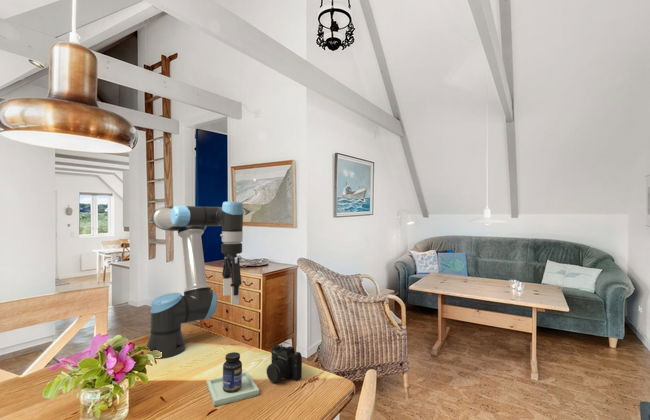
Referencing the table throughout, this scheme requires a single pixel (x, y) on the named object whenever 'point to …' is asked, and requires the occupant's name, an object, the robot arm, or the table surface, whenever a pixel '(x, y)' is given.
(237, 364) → the pill bottle
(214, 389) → the tray
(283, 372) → the camera
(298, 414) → the table surface
